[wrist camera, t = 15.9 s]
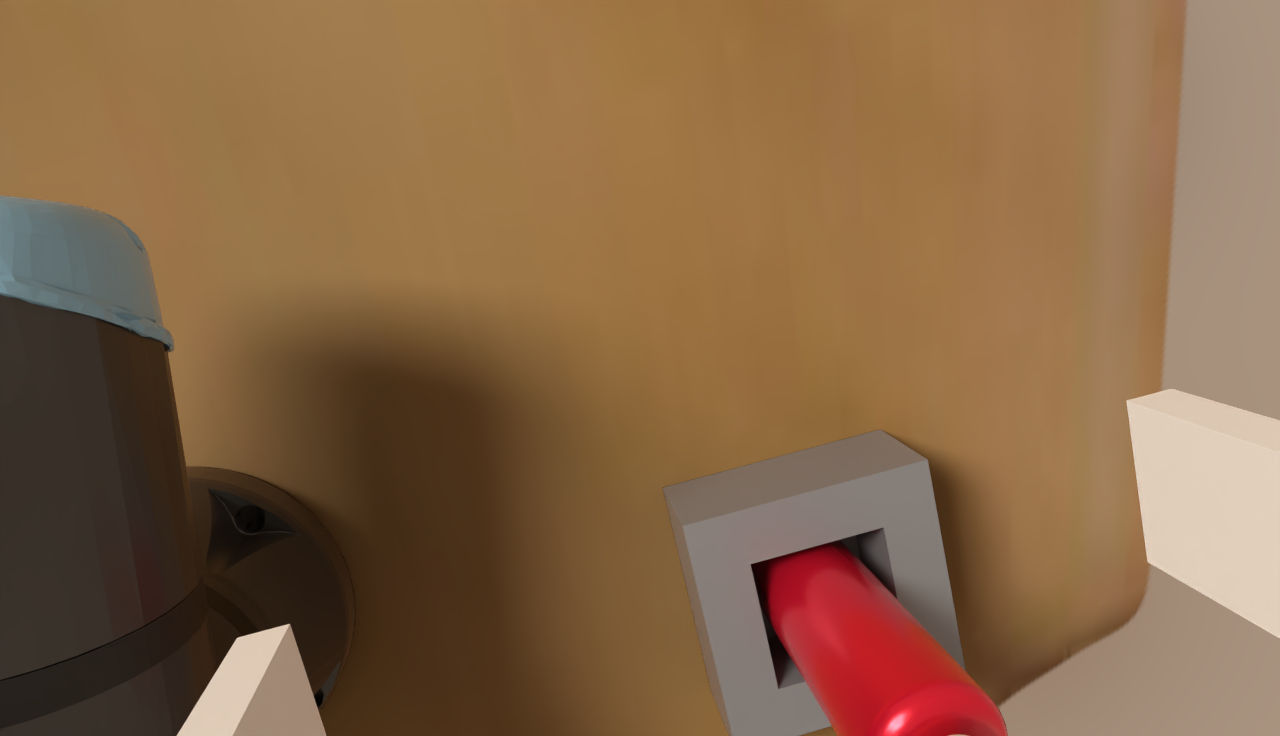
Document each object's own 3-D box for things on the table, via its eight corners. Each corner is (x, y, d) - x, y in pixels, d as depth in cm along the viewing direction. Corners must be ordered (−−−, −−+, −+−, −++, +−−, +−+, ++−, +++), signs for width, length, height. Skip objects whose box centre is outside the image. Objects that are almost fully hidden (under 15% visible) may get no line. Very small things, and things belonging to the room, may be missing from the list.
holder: (711, 692, 53) (736, 753, 47) (662, 487, 51) (682, 526, 45) (918, 632, 54) (968, 685, 48) (880, 429, 52) (927, 459, 46)
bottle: (830, 506, 51) (1028, 699, 32) (861, 596, 52) (1070, 837, 33) (734, 544, 51) (874, 763, 31) (766, 634, 52) (921, 900, 32)
